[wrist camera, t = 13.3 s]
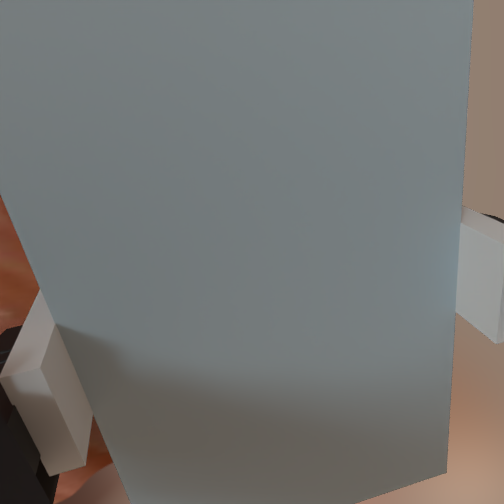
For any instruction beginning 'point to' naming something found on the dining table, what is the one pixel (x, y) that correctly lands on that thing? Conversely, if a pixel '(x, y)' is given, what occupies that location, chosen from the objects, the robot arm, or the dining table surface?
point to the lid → (246, 232)
